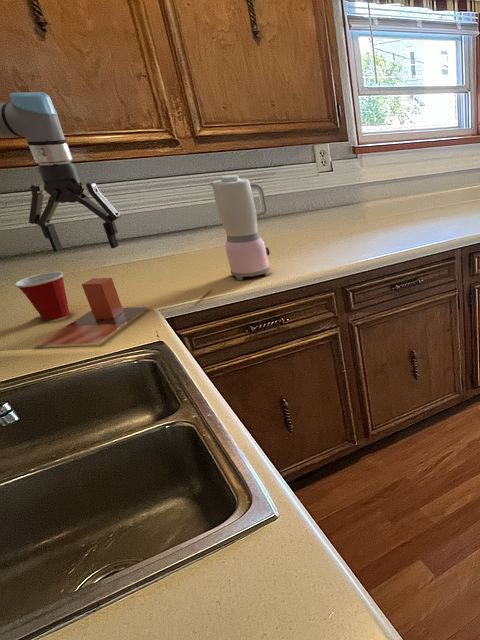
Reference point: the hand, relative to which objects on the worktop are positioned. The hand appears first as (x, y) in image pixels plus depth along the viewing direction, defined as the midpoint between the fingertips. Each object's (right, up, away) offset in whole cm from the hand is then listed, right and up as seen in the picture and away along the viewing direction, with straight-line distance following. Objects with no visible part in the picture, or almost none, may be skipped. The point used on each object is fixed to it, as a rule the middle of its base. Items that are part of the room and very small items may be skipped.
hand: (87, 248), depth 136 cm
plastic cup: (-15, -18, +8) cm, 25 cm away
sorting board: (+1, -21, +2) cm, 21 cm away
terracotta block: (+1, -17, +7) cm, 18 cm away
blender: (+27, 0, +42) cm, 49 cm away
